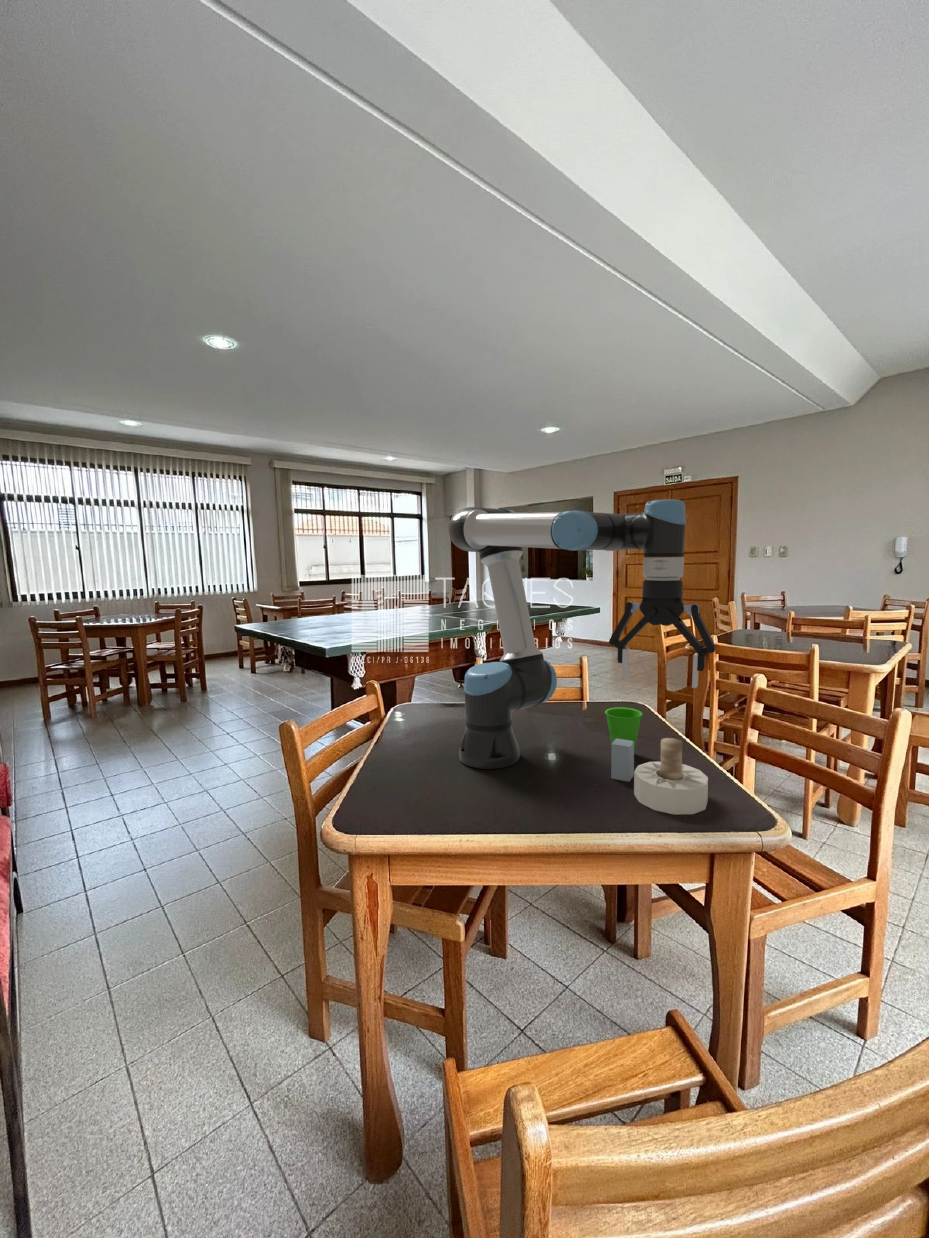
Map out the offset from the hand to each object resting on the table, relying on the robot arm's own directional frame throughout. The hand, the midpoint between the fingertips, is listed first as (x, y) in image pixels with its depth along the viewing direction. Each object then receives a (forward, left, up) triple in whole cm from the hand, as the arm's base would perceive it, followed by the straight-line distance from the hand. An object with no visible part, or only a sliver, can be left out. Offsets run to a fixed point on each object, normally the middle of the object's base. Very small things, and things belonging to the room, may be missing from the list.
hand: (658, 682), depth 103 cm
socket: (+3, -2, -23) cm, 24 cm away
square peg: (-8, +4, -23) cm, 25 cm away
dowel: (+3, -2, -23) cm, 24 cm away
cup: (-11, +17, -24) cm, 31 cm away
